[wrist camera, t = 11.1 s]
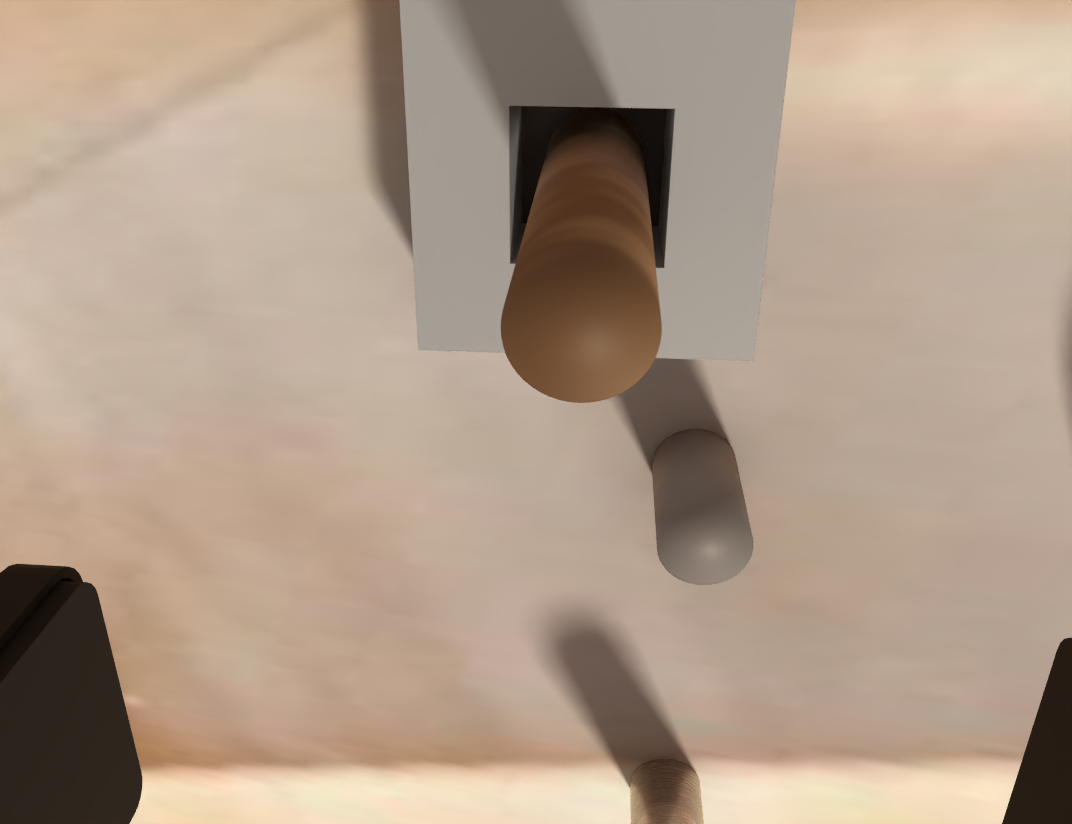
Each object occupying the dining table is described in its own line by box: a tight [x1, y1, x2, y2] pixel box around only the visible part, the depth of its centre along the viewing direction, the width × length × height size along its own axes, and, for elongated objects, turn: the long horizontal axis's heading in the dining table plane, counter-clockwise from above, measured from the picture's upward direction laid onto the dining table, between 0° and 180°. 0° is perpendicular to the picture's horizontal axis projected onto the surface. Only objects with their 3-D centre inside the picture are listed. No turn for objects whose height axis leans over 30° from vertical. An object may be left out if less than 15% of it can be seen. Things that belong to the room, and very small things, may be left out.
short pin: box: [652, 429, 753, 585], centre depth 33 cm, size 3×3×5 cm
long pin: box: [501, 108, 662, 403], centre depth 25 cm, size 3×3×14 cm
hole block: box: [399, 0, 795, 361], centre depth 29 cm, size 10×10×4 cm
